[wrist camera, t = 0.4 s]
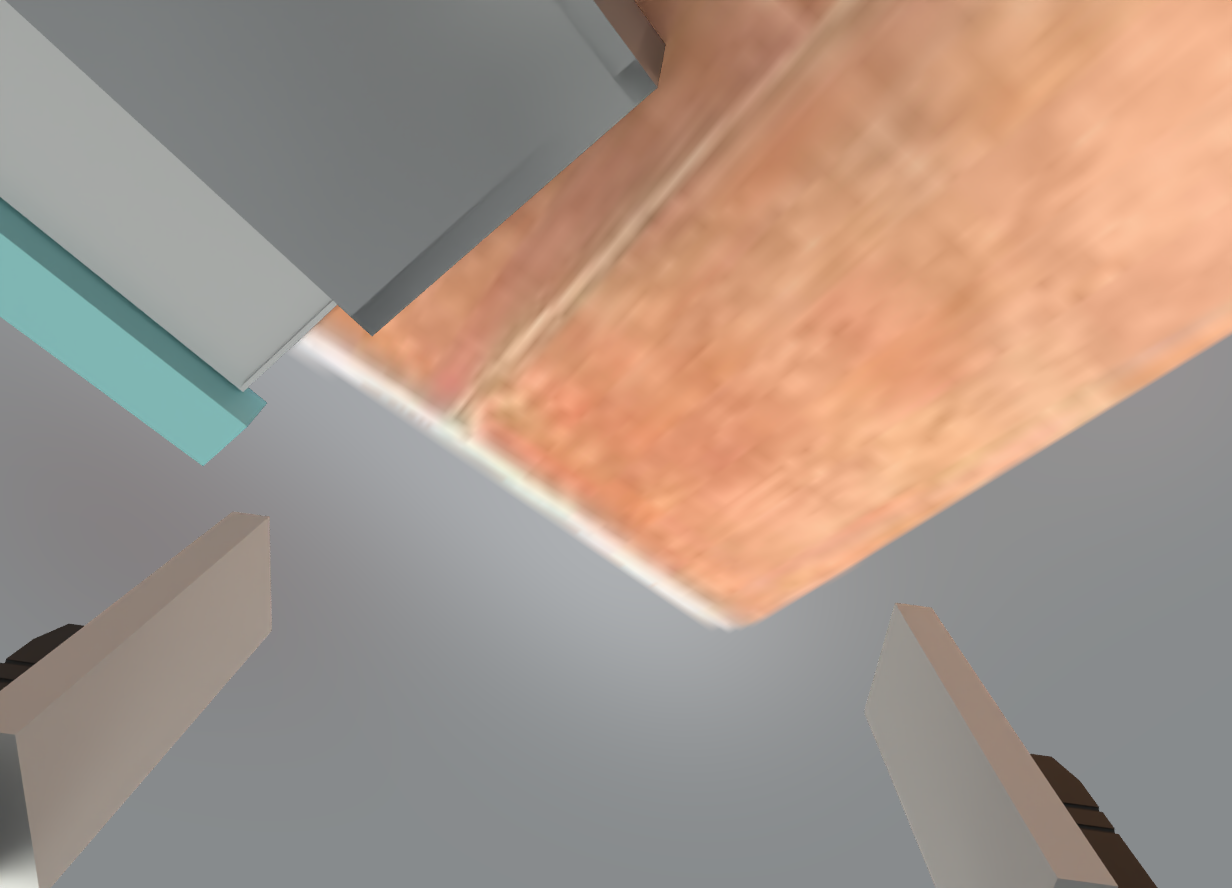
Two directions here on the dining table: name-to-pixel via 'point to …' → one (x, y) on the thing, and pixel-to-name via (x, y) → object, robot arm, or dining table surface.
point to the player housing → (366, 115)
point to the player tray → (133, 256)
